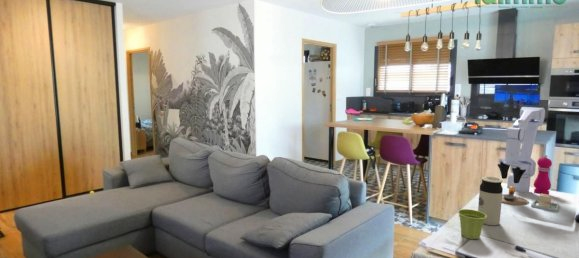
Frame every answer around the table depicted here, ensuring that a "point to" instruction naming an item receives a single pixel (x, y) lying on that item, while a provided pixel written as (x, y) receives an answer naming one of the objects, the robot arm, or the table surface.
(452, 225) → the table surface
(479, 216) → the plant pot
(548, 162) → the pepper mill
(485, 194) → the travel mug
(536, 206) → the tray
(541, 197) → the stop block
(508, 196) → the crank
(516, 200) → the crank base
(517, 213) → the table surface
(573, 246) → the table surface
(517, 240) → the table surface
